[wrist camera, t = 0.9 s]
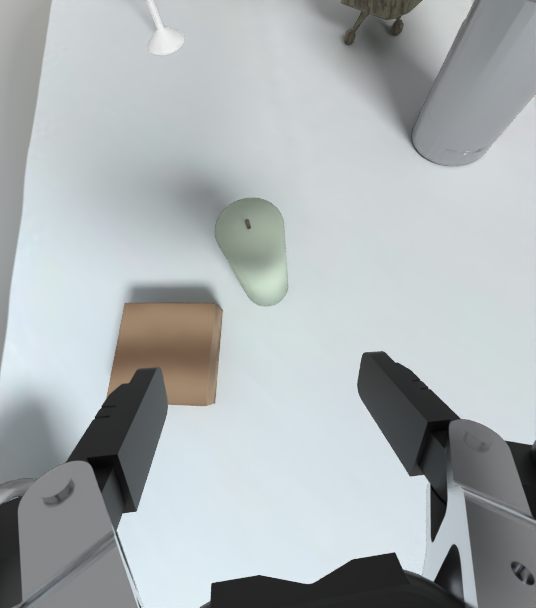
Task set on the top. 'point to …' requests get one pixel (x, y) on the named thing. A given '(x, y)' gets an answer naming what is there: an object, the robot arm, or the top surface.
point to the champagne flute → (163, 35)
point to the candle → (255, 248)
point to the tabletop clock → (380, 13)
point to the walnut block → (171, 348)
